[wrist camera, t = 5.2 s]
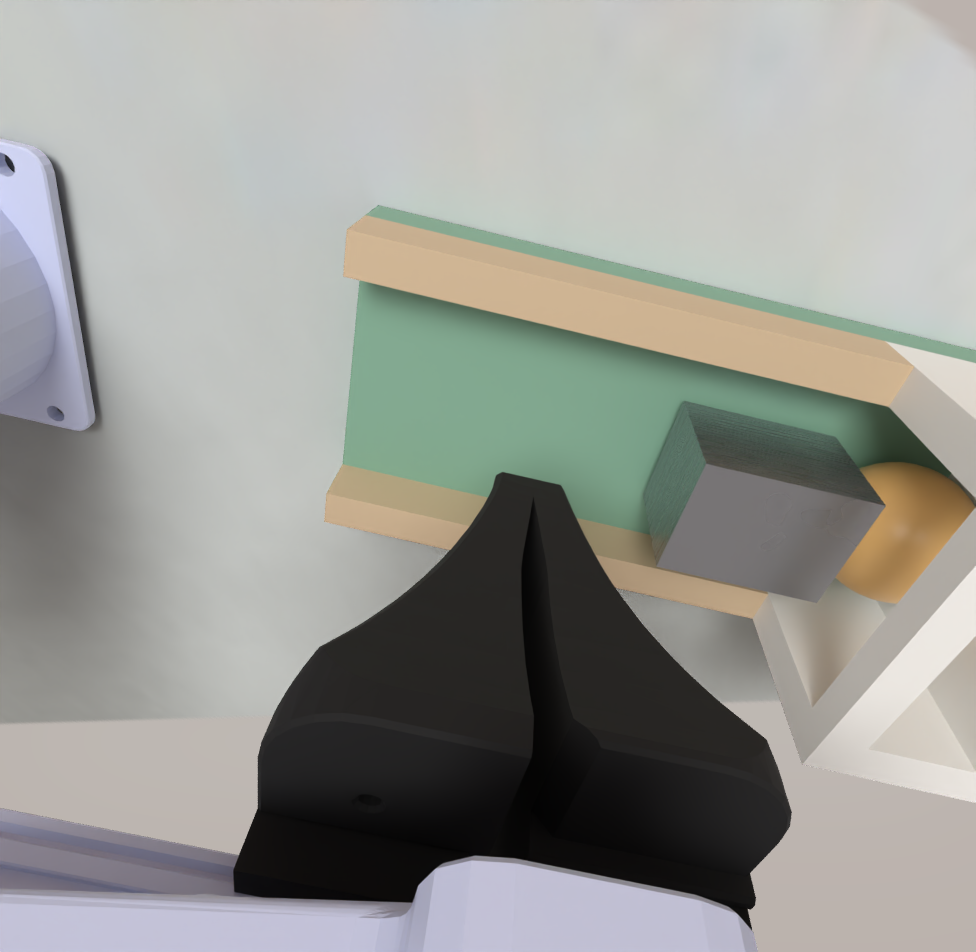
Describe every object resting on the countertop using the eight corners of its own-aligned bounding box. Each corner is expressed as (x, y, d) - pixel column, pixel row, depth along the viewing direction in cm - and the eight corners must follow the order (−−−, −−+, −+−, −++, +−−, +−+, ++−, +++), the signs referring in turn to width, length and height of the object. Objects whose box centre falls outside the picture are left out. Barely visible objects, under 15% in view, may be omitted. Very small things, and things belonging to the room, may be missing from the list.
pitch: (351, 469, 20) (259, 645, 14) (378, 205, 15) (261, 295, 9) (864, 587, 20) (990, 806, 14) (1033, 364, 16) (1317, 546, 10)
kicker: (643, 494, 17) (656, 566, 15) (683, 400, 16) (706, 463, 13) (780, 526, 18) (816, 603, 15) (835, 436, 16) (886, 506, 13)
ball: (854, 640, 15) (957, 627, 16) (946, 526, 13) (1053, 521, 14) (763, 540, 17) (856, 535, 19) (827, 433, 15) (926, 436, 17)
